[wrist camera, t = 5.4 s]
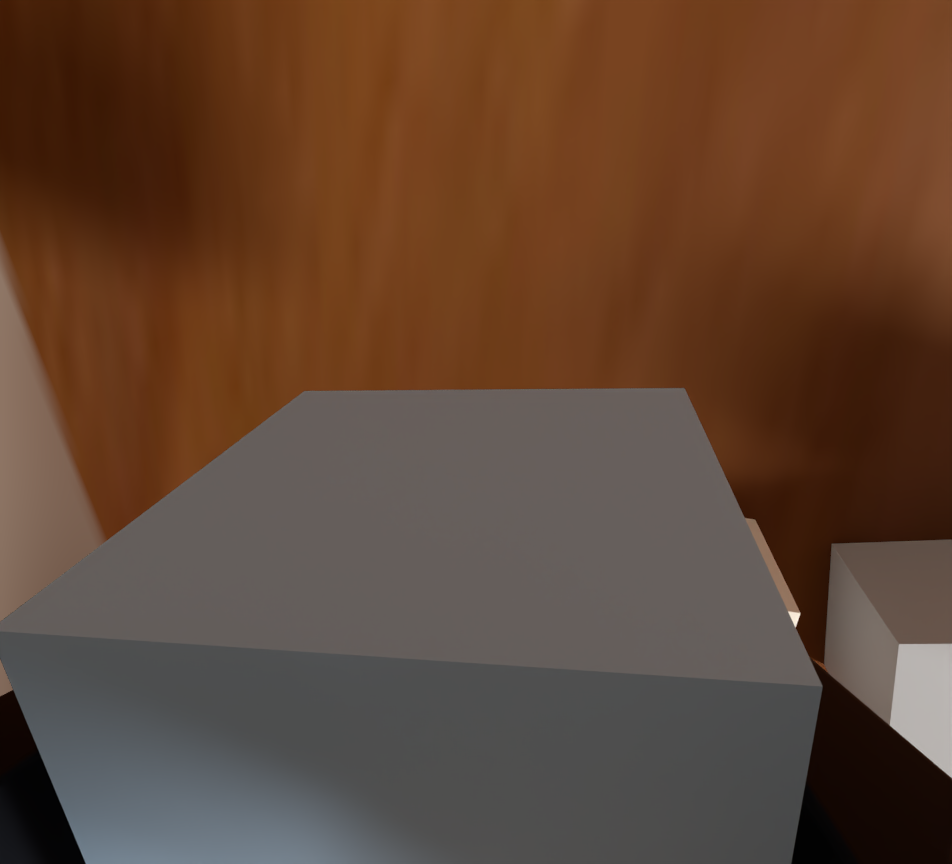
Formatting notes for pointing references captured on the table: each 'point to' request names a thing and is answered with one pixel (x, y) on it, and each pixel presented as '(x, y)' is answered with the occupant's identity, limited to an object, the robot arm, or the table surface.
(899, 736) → the robot arm
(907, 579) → the grey cube
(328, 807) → the bluish grey cube
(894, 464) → the table surface
